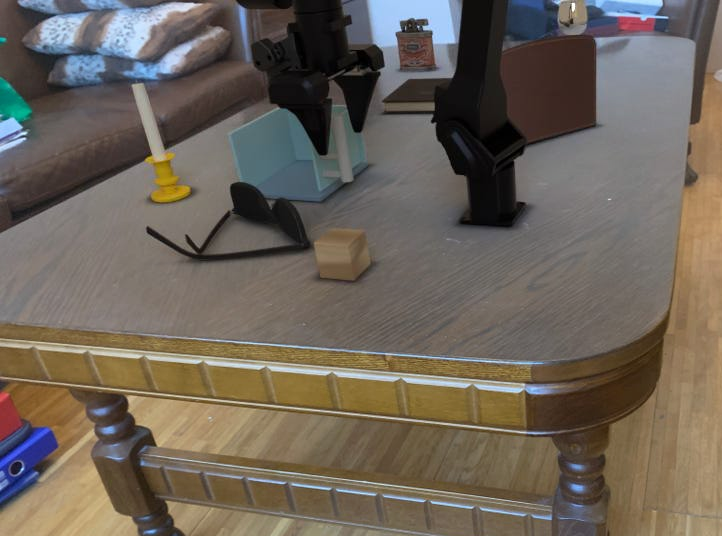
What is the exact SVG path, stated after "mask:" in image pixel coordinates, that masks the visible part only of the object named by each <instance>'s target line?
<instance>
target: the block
mask: <svg viewBox="0 0 722 536" xmlns="http://www.w3.org/2000/svg"><path fill="white" fill-rule="evenodd" d="M313 248H314V253H315V257H316V262H317V267H318V273H319V276H320V278H322V279H330V280H332V279H333V280H342V281H349V282H350V281H351V282H354V281H356V280H357V279H358V278H359V276H361V275H362V274H363V273H364V272H365V271H366V270H367V269H368V268H369V267H370V266H371V263H372V262H371V257H370V253H369V246H368V240H367V235H366V230H365V229H355V228H354V229H353V228H340V227H339V228H338V227H331V228H330V229H328V230H327V231H326V232H325V233H323V234H322V235H321V236H320V237H318V239H317V240H315V241H314V242H313Z"/></svg>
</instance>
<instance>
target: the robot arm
mask: <svg viewBox="0 0 722 536" xmlns="http://www.w3.org/2000/svg"><path fill="white" fill-rule="evenodd" d="M235 1H236V3H237V5H239V6H240V7H242V8H243V9H246V10H288V9H291V8H292V14H293V21H290V22H287V26H286V33H287V37H285V38H283V39H281V40H278V41H276V42H273V41H272V40H271V39H269V37H264V38H262V39H260V40H257V41H255V42H253V43H251V44H250V51H251V59H252V62H253V67H254V68H255V69H257V71H259V72H263V73H264V72H265V74H266V76H267V78H268V79H269V80H268V82H267V83H266V85H265V89H266V94H267V98H268V103H269V104H270V105H276V106H277V108H278V107H279V108H281V109H287V110H288V111H290V112H291V113H293V114H294V115H295V116H296V117H297V119H298V120H299V121H300V123H301V125H302V126H303V128H304V130H305V131H306V133H307V135H308V137H309V138H310V140H311V142H312V144H313V146H314V147H315V149H316V151H317V153H318V154H319V155H321V156H326V155H327V154H328V148H329V139H330V125H331V112H332V105H333V98H332V97H330V98H329V94H330V88H331V86H330V82H332V81H333V82H334V83H335V84H336V85H337V86H338V87H339V88H340V89H341V92H342V94H343V97H344V102H345V105H346V106H347V110H348V114H349V118H350V122H351V125H352V128H353V131H354V132H355V133H361V132H362V131H363V129H364V127H365V123H366V119H367V116H368V113H369V109H370V105H371V102H372V99H373V96H374V93H375V89H376V86H377V83H378V80H379V78H380V77H381V75H382V72H381V71H380V70H381V69H383V68H385V67H386V63H385V56H384V51H383V50H382V48H380V47H379V46H378V45H377V44H376V43H360V44H359V43H357V44H355V43H353V44H351V43H350V44H349V40H348V39H349V38H348V33H347V27H348V26H350V25H353V20H352V19H353V18H352V14H344V8H343V1H342V0H235ZM509 1H510V0H462V2H461V12H460V20H459V21H460V23H459V34H458V42H457V55H456V66H455V70H454V73H453V76H452V77H451V78H452V79H450V80H448V81H445V82H443V83H441V84H439V85H437V86H436V87H435V92H434V102H435V110H434V113H433V115H432V117H431V119H430V123H431V124H432V125H433V124H435V128H434V129H435V130H434V131H435V137H436V141H437V142H439V143H440V144H441V146H442V148H443V149H444V151H445V154H446V156H447V158H448V161H449V163H450V166H451V169H452V172H453V174H454V175H455V176H462V177H465V179H466V191H467V192H466V193H467V205H468V208H467V209H465V212H463V214H462V215H461V216H460V217H459V218H458V219H459V220H458V221H459V223H460V224H466V225H467V224H468V225H483V226H499V227H512V226H513V225H514V224H515V222H516V221H517V220H518V218H519V217H520V216H521V214H522V213H523V212H524V211H525V209H526V207H527V203H526V202H525V201H517V200H518V199H517V184H516V166H515V165H516V163H515V160H517V159H518V158H519V157H522V156H523V155H524V153H525V151H526V148H527V145H528V144H527V138H526V137H525V135H524V134H523V133H522V132H521V131H520V130H519V129H518V128H517V127H516V125H515V124H514V123H513V122H512V121H511V120H510V119H509V118H508V117H507V95H506V91H505V88H504V85H503V82H502V79H501V76H500V63H501V55H502V51H503V46H504V38H505V30H506V23H507V16H508V8H509Z"/></svg>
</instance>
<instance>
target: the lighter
mask: <svg viewBox="0 0 722 536" xmlns="http://www.w3.org/2000/svg"><path fill="white" fill-rule="evenodd" d="M429 25H430V24H429V19H428V18H417V19H415V17H410V18H408V19H406V20H404V19H403V20H399V27H400V29H401V30H399V31H396V32H395V33H394V35H395V37H396V43H397V51H398V57H399V58H398V59H399V71H400V72H431V71H435V70H437V63H436V60H435V59H436V58H435V51H434V49H435V48H434V40H433V36H434V31H433V30H432V29H424V27H428V26H429Z"/></svg>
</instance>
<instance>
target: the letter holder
mask: <svg viewBox="0 0 722 536" xmlns="http://www.w3.org/2000/svg"><path fill="white" fill-rule="evenodd" d="M500 76H501V79H502V82H503V85H504V88H505V91H506V95H507V117H508V118H509V119H510V120H511V121H512V122H513V123H514V124H515V125H516V127H517V128H518V129H519V130H520V131H521V132H522V133H523V134H524V135H525V137H526V138H527V144H526V145H531V144H534V143H537V142H540V141H544V140H548V139H552V138H555V137H560V136H562V135H566V134H571V133H574V132H577V131H581V130H585V129H588V128H591V127H596V125H597V42H596V39H595V38H594V36H592V35H591V34H580V35H566V36H565V35H558V36H551V37H545V38H539V39H535V40H530V41H528V42H527V41H526V42H524V43H521V44H518V45H515V46H511V47H509V48H506V49H504V50H502V55H501V63H500Z"/></svg>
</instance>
